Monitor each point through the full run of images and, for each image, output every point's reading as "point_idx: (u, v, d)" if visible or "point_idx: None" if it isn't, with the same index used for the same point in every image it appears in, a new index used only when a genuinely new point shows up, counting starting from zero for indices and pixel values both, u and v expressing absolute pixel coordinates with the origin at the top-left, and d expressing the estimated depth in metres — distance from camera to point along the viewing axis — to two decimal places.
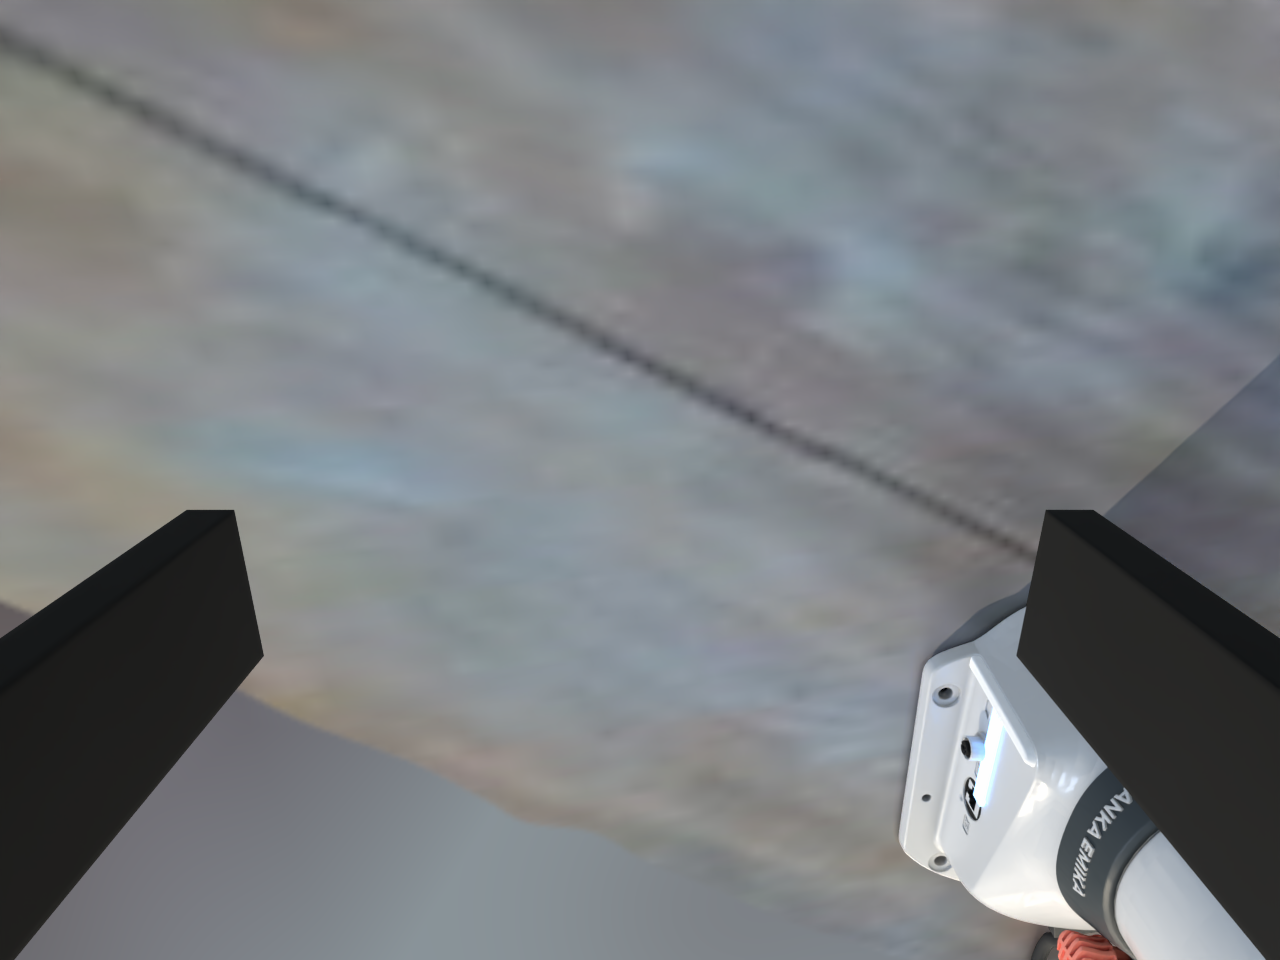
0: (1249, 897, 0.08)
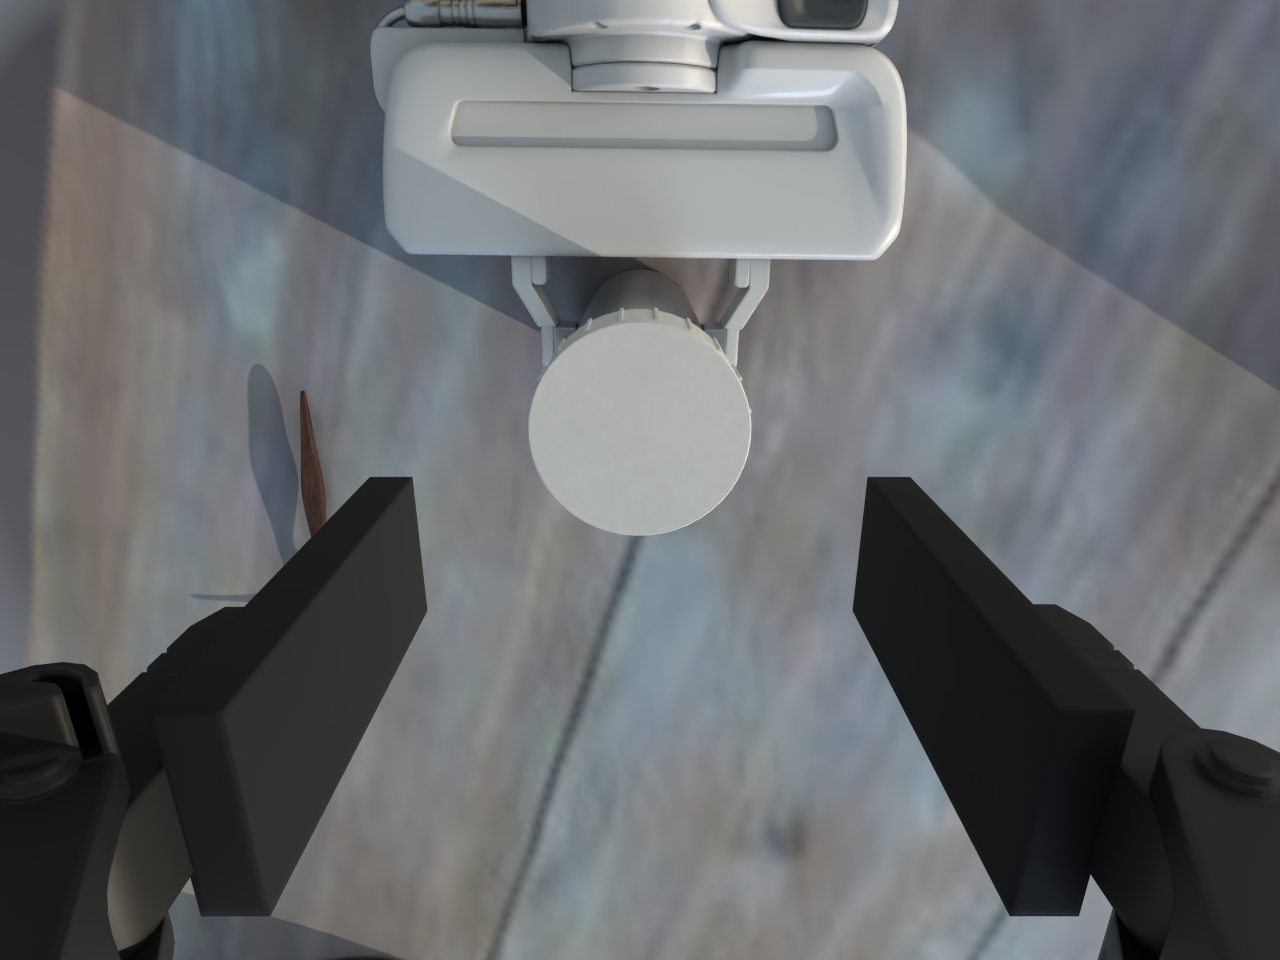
0: (964, 792, 0.09)
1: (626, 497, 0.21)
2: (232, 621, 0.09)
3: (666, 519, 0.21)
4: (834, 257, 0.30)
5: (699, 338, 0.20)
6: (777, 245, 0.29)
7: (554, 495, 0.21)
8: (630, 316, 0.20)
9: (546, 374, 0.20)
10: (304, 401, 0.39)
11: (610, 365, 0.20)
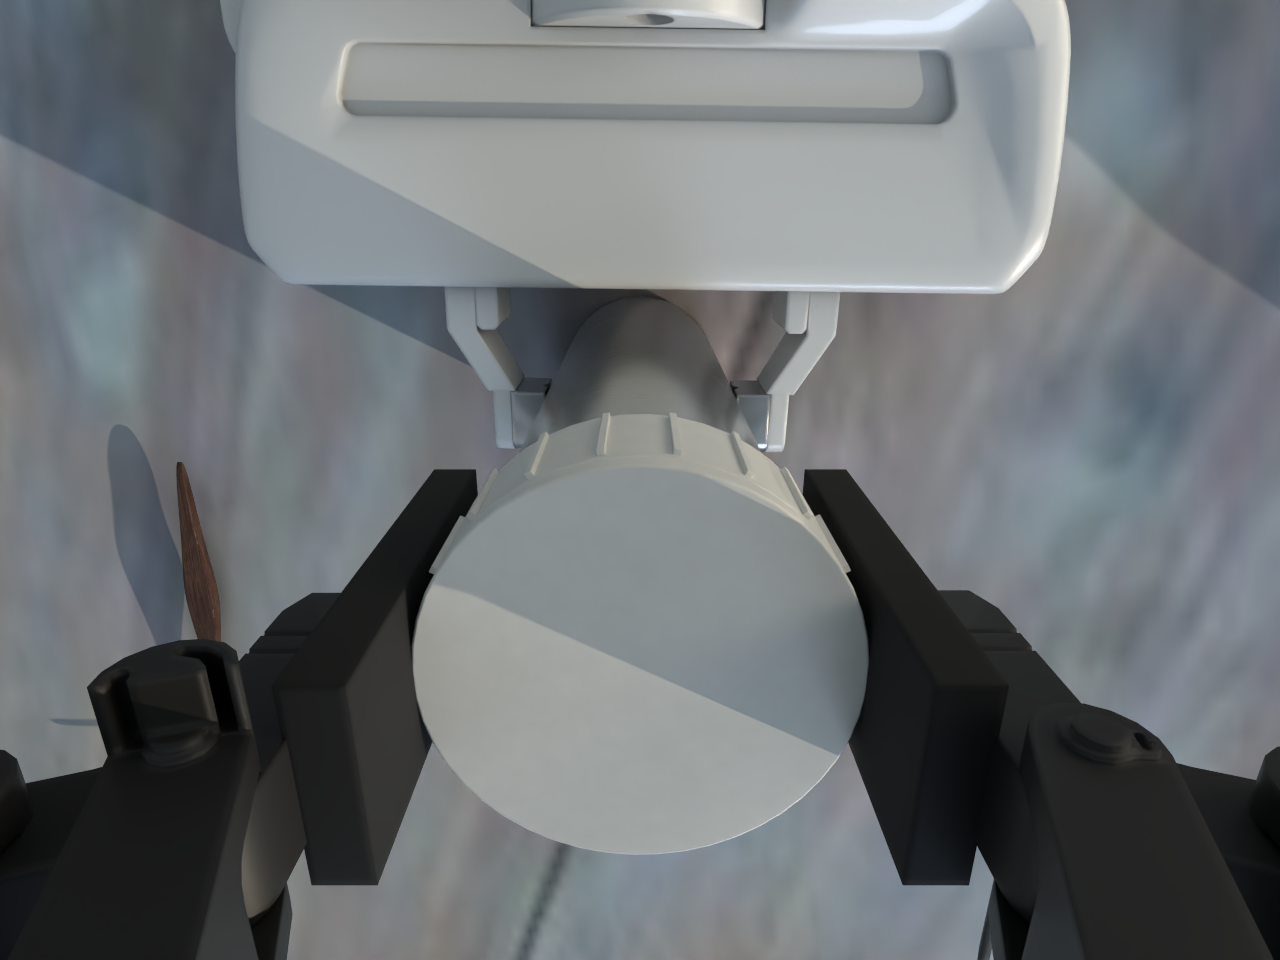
0: (872, 769, 0.10)
1: (614, 791, 0.11)
2: (334, 604, 0.09)
3: (693, 828, 0.11)
4: (940, 290, 0.19)
5: (769, 499, 0.09)
6: (854, 271, 0.19)
7: (471, 788, 0.11)
8: (622, 443, 0.10)
9: (444, 569, 0.09)
10: (181, 476, 0.28)
11: (580, 554, 0.09)
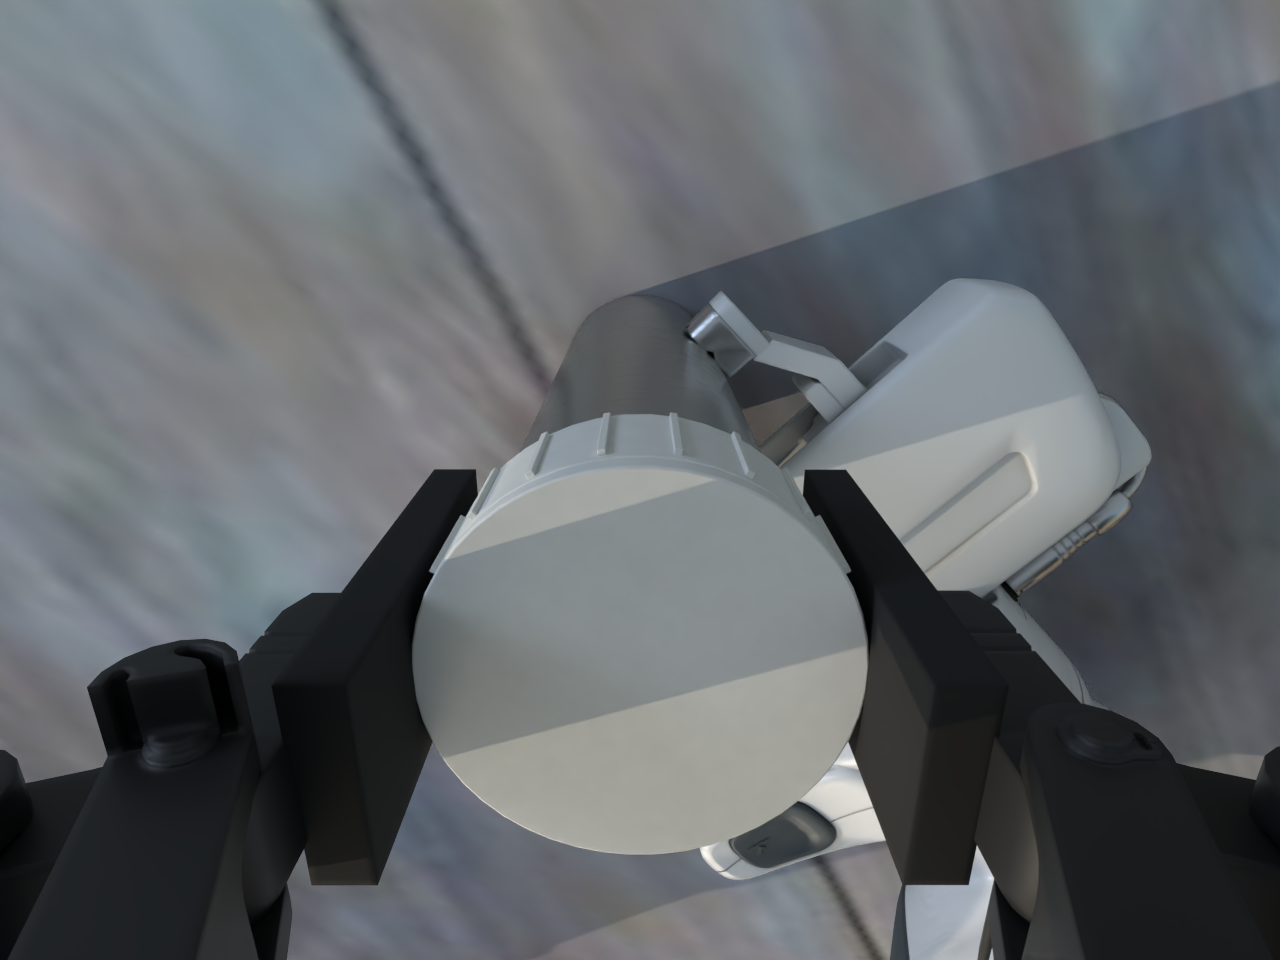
0: (873, 770, 0.10)
1: (614, 791, 0.11)
2: (334, 605, 0.09)
3: (692, 828, 0.11)
4: None
5: (769, 500, 0.09)
6: None
7: (471, 788, 0.11)
8: (622, 443, 0.10)
9: (444, 569, 0.09)
10: None
11: (580, 553, 0.09)
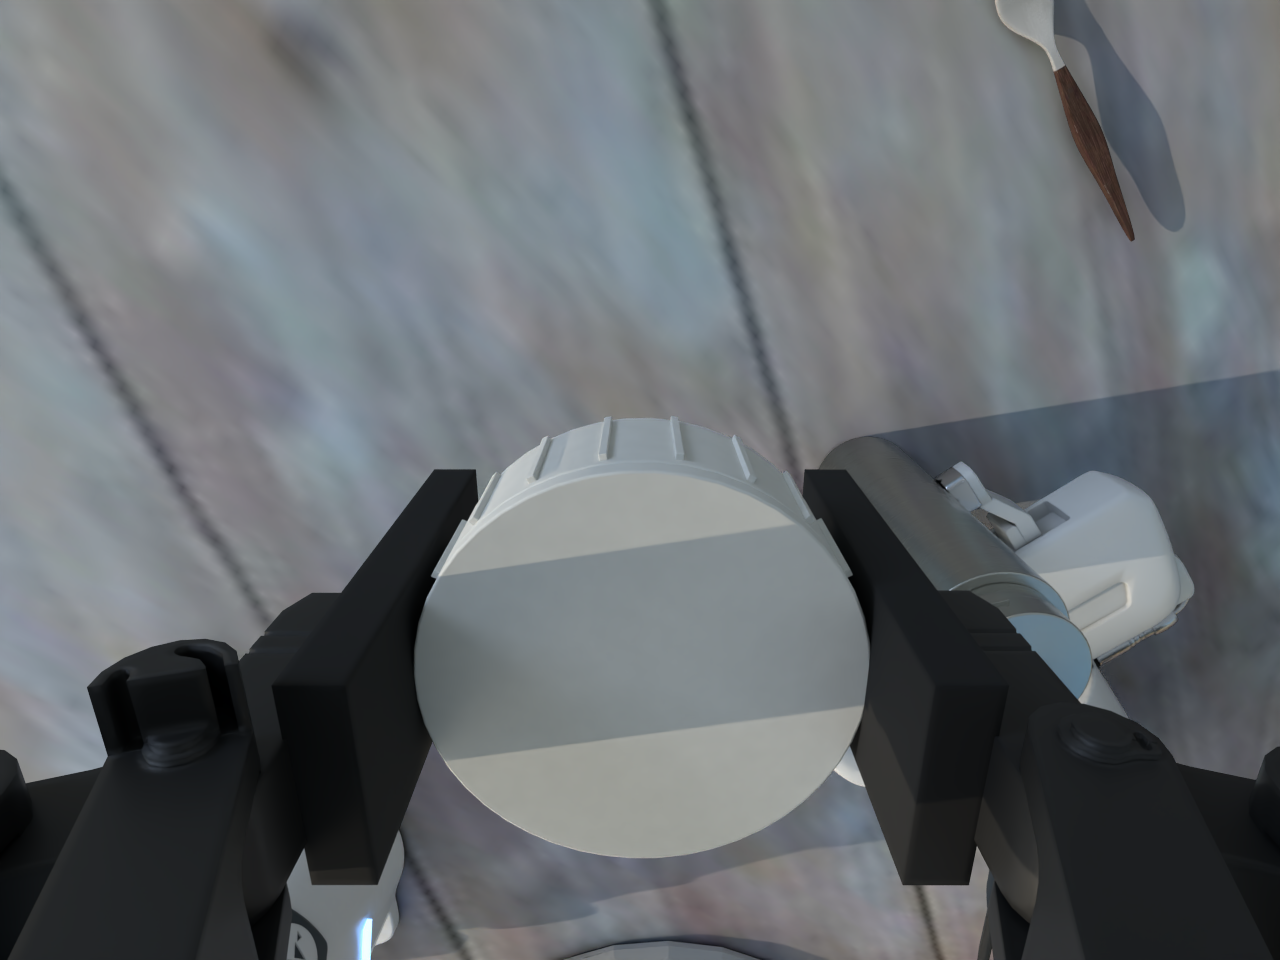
0: (872, 769, 0.10)
1: (616, 795, 0.11)
2: (334, 604, 0.09)
3: (694, 832, 0.11)
4: None
5: (771, 504, 0.09)
6: None
7: (473, 792, 0.11)
8: (624, 447, 0.10)
9: (447, 574, 0.09)
10: (1129, 232, 0.37)
11: (581, 559, 0.09)
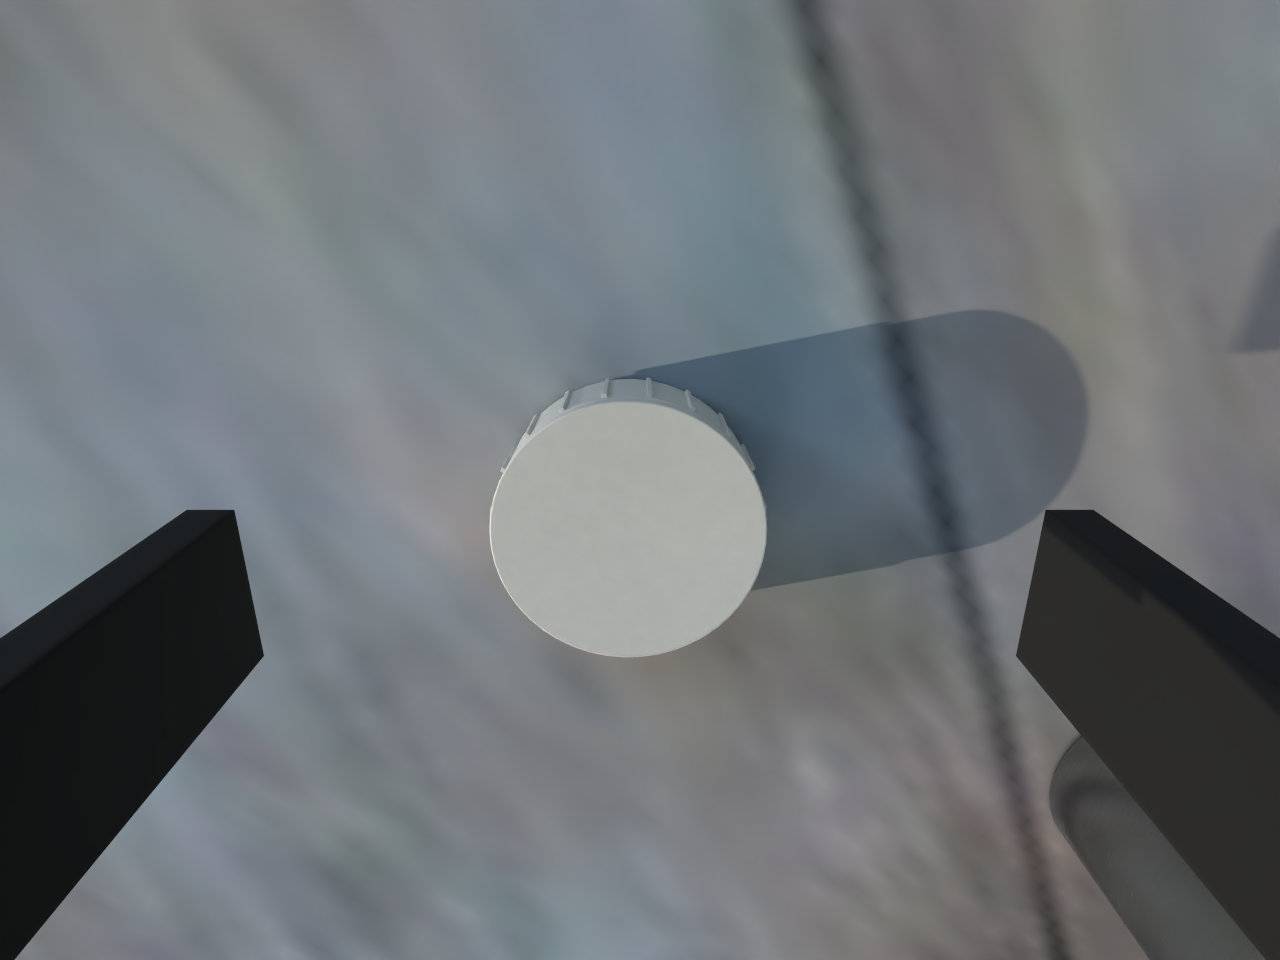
0: (1250, 896, 0.08)
1: (613, 612, 0.17)
2: None
3: (662, 638, 0.17)
4: None
5: (702, 421, 0.16)
6: None
7: (524, 610, 0.17)
8: (616, 392, 0.16)
9: (511, 465, 0.16)
10: None
11: (592, 455, 0.16)
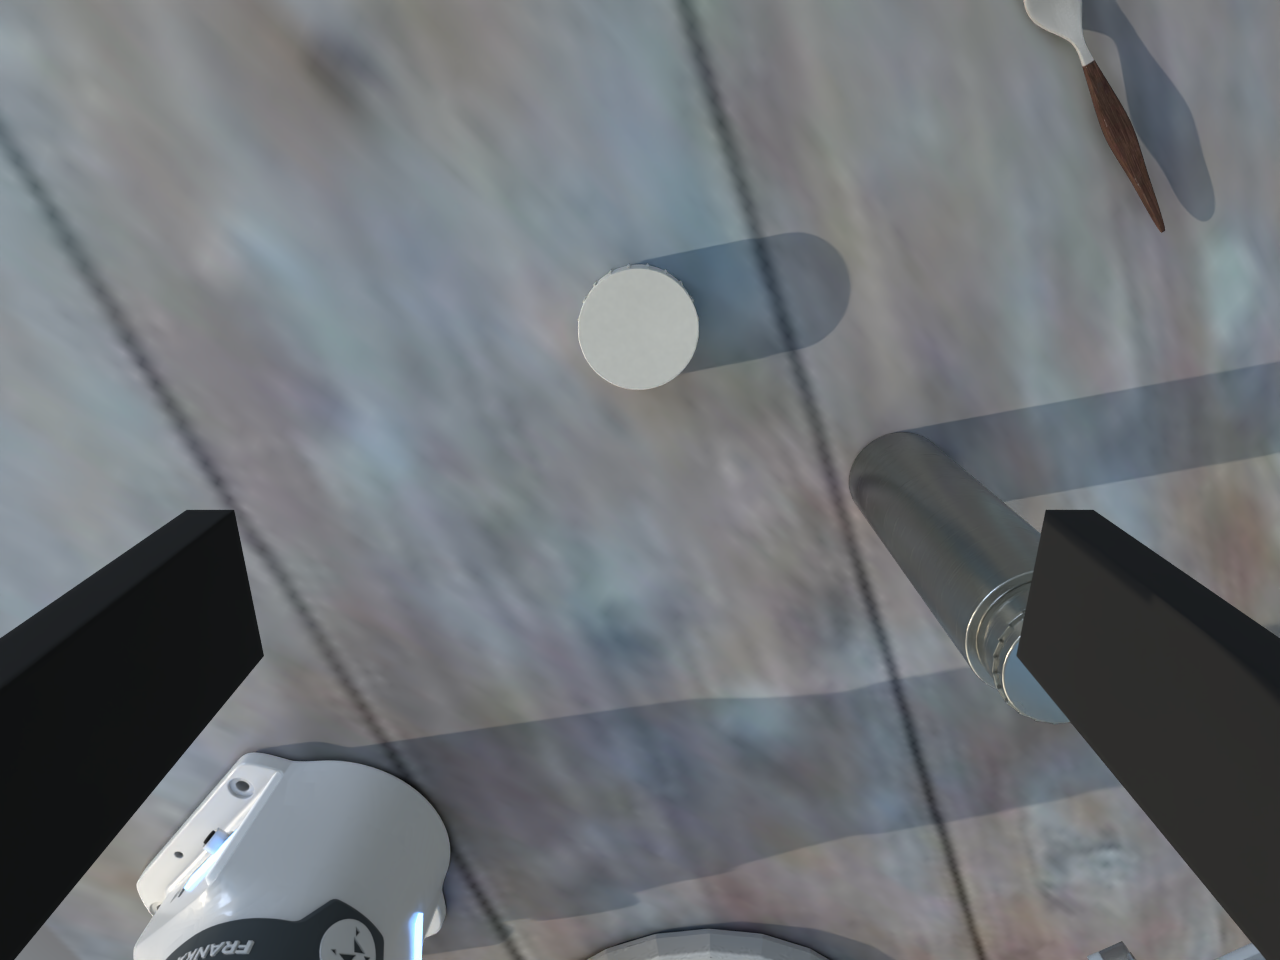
0: (1251, 898, 0.08)
1: (631, 367, 0.38)
2: None
3: (653, 380, 0.39)
4: None
5: (670, 277, 0.37)
6: None
7: (592, 366, 0.38)
8: (633, 266, 0.38)
9: (588, 297, 0.37)
10: (1159, 223, 0.37)
11: (623, 292, 0.37)
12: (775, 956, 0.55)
